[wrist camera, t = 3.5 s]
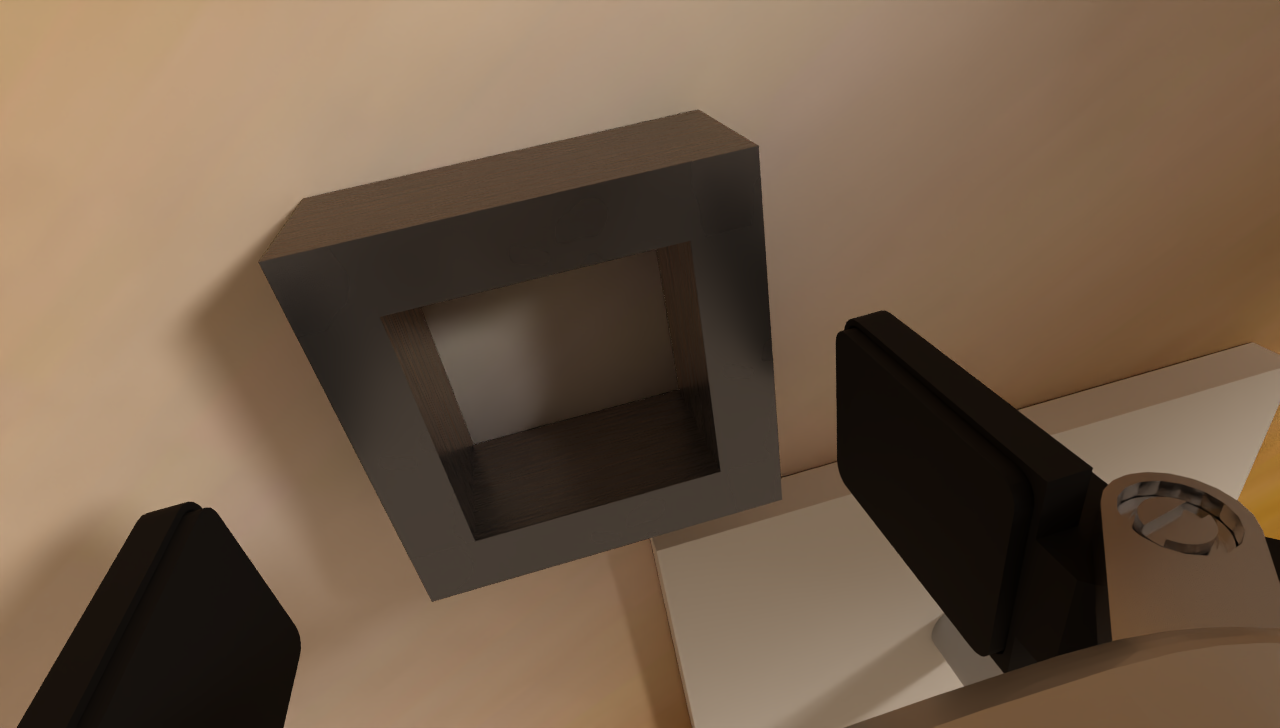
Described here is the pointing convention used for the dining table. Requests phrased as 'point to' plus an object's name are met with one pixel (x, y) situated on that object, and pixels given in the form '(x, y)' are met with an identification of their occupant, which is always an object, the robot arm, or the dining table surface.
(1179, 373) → the white peg stand
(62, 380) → the dining table surface
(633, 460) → the grey square socket block
